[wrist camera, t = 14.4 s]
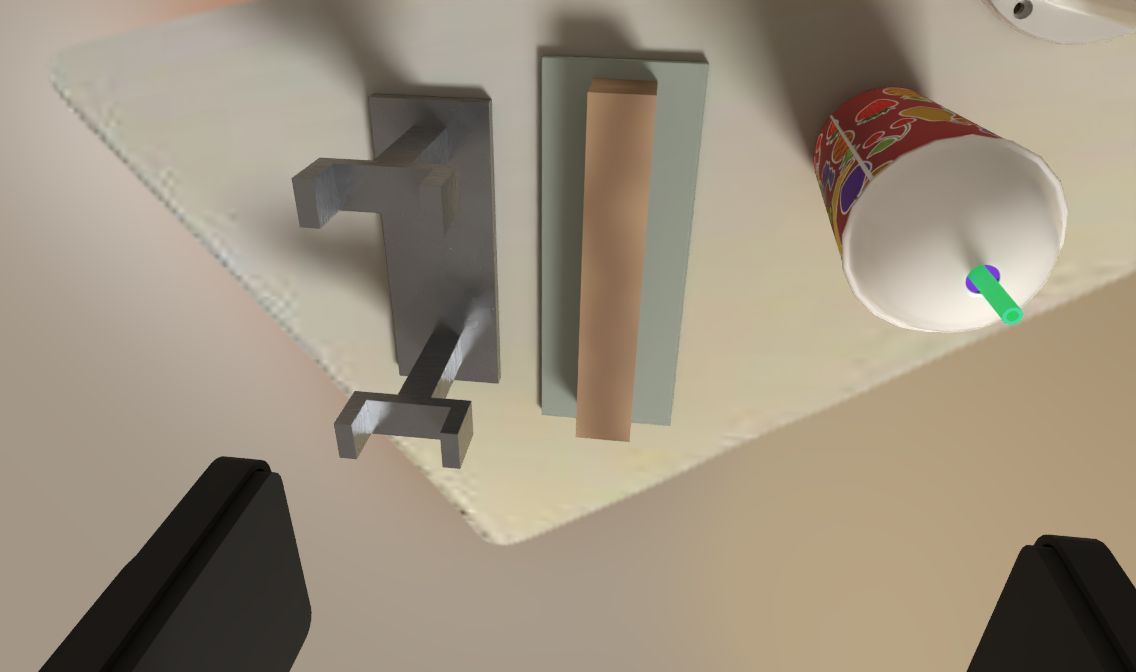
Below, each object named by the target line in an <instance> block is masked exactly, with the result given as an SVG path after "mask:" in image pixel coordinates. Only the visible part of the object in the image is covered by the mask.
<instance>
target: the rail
mask: <svg viewBox="0 0 1136 672" xmlns="http://www.w3.org/2000/svg"><path fill="white" fill-rule="evenodd" d="M657 86H658V81H646V80H625V79H604V78H594V79H593V81H592V83H591V85H590V88H589V90H588V93H587V123H586V152H585V181H584V211H583V240H582V270H581V299H580V328H579V358H578V387H577V416H576V437H581V438H592V439H603V440H614V441H625V442H629V439H630V426H631V414H632V401H633V388H634V376H635V363H636V351H637V338H638V325H639V313H640V300H641V288H642V275H643V262H644V250H645V237H646V225H647V212H648V199H649V187H650V174H651V162H652V149H653V136H654V124H655V111H656V98H657Z"/></svg>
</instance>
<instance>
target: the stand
mask: <svg viewBox="0 0 1136 672" xmlns="http://www.w3.org/2000/svg"><path fill="white" fill-rule="evenodd" d="M368 99H369V108H370V117H371V126H372V135H373V144H374V152H375V159H374V160H373V161H371V160H353V159H334V158H318V159H317V160H316V161H314V162H313V163H312V164H310V165H309V166H308V167H306V168H305V169H304V170H302V171H301V172H299V173H298V174H297V175H295V176H294V177H293V178H292V183H293V189H294V195H295V201H296V206H297V212H298V218H299V224H300V227H305V228H321V227H322V226H323V225H325V224H326V223H327V222H328V221H329V220H330V219H331V218H332V217H333V216H334V215H335V214H336V213H337V212H338V211H339V210H340V211H356V212H372V213H381V214H382V223H383V232H384V241H385V250H386V258H387V267H388V276H389V285H390V294H391V303H392V311H393V320H394V329H395V338H396V347H397V356H398V364H399V373H400V375H401V376H408V377H407V379H406V381H405V383H404V384H403V386H402V388H401V390H400V392H399V394H398V395H395V394H383V393H372V392H360V391H355V392H354V393H353V395H352V396H351V398H350V399H349V401H348V402H347V404H346V406H345V407H344V409H343V410H342V412H341V413H340V415H339V417H338V418H337V420H336V421H335V423H334V427H335V433H336V438H337V444H338V450H339V456H340V458H351V459H357V458H358V456H359V454H360V452H361V450H362V449H363V447H364V445H365V443H366V442H367V440H368V438H369V436H370V435H371V433H373V434H384V435H395V436H406V437H417V438H429V439H440V440H441V452H442V464H443V467H447V468H457V469H460V468H461V465H462V463H463V460H464V457H465V455H466V452H467V449H468V447H469V444H470V441H471V438H472V436H473V422H472V404H471V401H466V400H454V399H445V398H446V396H447V394H448V391H449V389H450V387H451V385H452V383H453V380H462V381H474V382H486V383H499V380H500V378H501V373H500V342H499V312H498V281H497V251H496V220H495V189H494V159H493V128H492V99H472V98H450V97H428V96H407V95H385V94H372V95H371V96H369V97H368Z"/></svg>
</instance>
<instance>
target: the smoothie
mask: <svg viewBox="0 0 1136 672" xmlns="http://www.w3.org/2000/svg"><path fill="white" fill-rule="evenodd" d="M814 166H815V174H816V177H817V180H818V183H819V187H820V190H821V193H822V197H823V200H824V203H825V206H826V210H827V213H828V216H829V220H830V223H831V226H832V230H833V233H834V236H835V239H836V243H837V246H838V249H839V253H840V256H841V259H842V268H843V271H844V273H845V276H846V278H847V280H848V283H849V285H850V288H851V290H852V292H853V294H854V295H855V296H856V297H857V299H858V300H859V301H860V302H861V303H862V304H863V305H864V306H865V307H866V308H867V309H868V310H869V311H870V312H871V313H872V314H873V315H875V316H877V317H879V318H881V319H883V320H885V321H887V322H889V323H891V324H893V325H895V326H897V327H901V328H907V329H913V330H919V331H925V332H942V333H950V332H960V331H970V330H976V329H979V328H982V327H985V326H988V325H991V324H994V323H996V322H999V321H1003V322H1004V323H1006V324H1009V325H1011V324H1016V323H1018V322H1019V321H1020V320H1021V319H1022V317H1023V312H1022V310H1021V308H1022V307H1024V306H1025V305H1026V304H1027V303H1028V302H1029V301H1030V300H1031V299H1032V298H1033V297H1034V296H1035V295H1036V294H1037V292H1038V291H1039V290H1040V289H1041V288H1042V287H1043V286H1044V285H1045V283H1046V282H1047V280H1048V278H1049V276H1050V274H1051V272H1052V270H1053V268H1054V266H1055V264H1056V262H1057V260H1058V257H1059V252H1060V250H1061V248H1062V246H1063V244H1064V240H1065V233H1066V226H1067V218H1068V207H1067V203H1066V199H1065V196H1064V192H1063V188H1062V184H1061V181H1060V180H1059V178H1058V177H1057V176H1056V175H1055V173H1054V172H1053V171H1052V170H1051V168H1050V167H1049V166H1048V165H1047V163H1046V162H1045V161H1044V159H1043V158H1042V157H1041V156H1039V155H1037V154H1035V153H1034V152H1032V151H1030V150H1028V149H1026V148H1024V147H1022V146H1020V145H1019V144H1017V143H1015V142H1013V141H1011V140H1006V139H1003V138H1001V137H1000V136H998V135H996V134H994V133H992V132H990V131H988V130H986V129H984V128H982V127H981V126H979V125H977V124H975V123H973V122H971V121H969V120H967V119H965V118H963V117H962V116H960V115H958V114H956V113H954V112H952V111H950V110H948V109H946V108H944V107H943V106H941V105H939V104H937V103H935V102H933V101H931V100H929V99H928V98H926V97H924V96H922V95H920V94H918V93H916V92H914V91H912V90H910V89H904V88H895V87H884V88H879V89H874V90H869V91H865V92H863V93H861V94H859V95H857V96H856V97H854V98H852V99H850V100H848V101H846V102H845V103H844V104H843V105H842V106H841V107H839V108H838V109H837V110H836V111H835V112H834V113H833V114H832V115H831V116H830V117H829V118H828V120H827V122H826V123H825V125H824V127H823V128H822V130H821V132H820V133H819V135H818V139H817V143H816V147H815V151H814Z"/></svg>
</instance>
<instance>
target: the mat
mask: <svg viewBox="0 0 1136 672" xmlns="http://www.w3.org/2000/svg"><path fill="white" fill-rule="evenodd" d="M708 68H709V63H708V62H689V61H665V60H640V59H615V58H591V57H566V56H543V57H542V415H549V416H561V417H572V418H576V416H577V387H578V358H579V328H580V299H581V270H582V240H583V211H584V181H585V152H586V123H587V93H588V90H589V88H590V85H591V83H592V81H593V79H594V78H604V79H625V80H646V81H658V86H657V98H656V111H655V124H654V136H653V149H652V162H651V174H650V187H649V199H648V212H647V225H646V237H645V250H644V262H643V275H642V288H641V300H640V313H639V325H638V338H637V351H636V363H635V376H634V388H633V401H632V414H631V423H642V424H654V425H666V426H670V423H671V414H672V404H673V395H674V386H675V376H676V367H677V358H678V348H679V339H680V330H681V320H682V311H683V302H684V292H685V283H686V274H687V264H688V255H689V245H690V236H691V227H692V217H693V208H694V199H695V189H696V180H697V171H698V161H699V152H700V143H701V133H702V124H703V115H704V105H705V96H706V87H707V77H708Z"/></svg>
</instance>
